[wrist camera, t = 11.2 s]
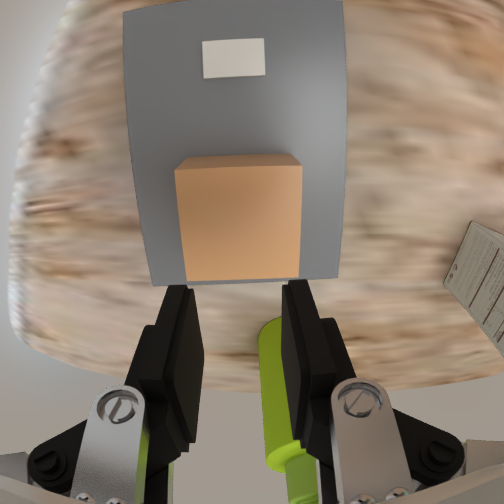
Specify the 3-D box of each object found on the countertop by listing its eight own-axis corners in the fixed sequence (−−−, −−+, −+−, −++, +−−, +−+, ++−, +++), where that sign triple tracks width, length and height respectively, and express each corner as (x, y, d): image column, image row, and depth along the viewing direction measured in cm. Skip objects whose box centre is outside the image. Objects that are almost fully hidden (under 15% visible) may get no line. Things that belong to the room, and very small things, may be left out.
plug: (193, 151, 22) (174, 170, 16) (285, 148, 22) (302, 165, 16) (199, 235, 25) (186, 281, 19) (284, 232, 25) (298, 277, 19)
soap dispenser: (333, 315, 29) (401, 519, 11) (302, 364, 32) (336, 549, 14) (276, 299, 28) (310, 533, 10) (249, 353, 31) (257, 554, 13)
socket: (136, 21, 17) (118, 9, 14) (330, 11, 18) (345, -3, 14) (161, 267, 26) (150, 292, 23) (328, 259, 26) (340, 283, 23)
